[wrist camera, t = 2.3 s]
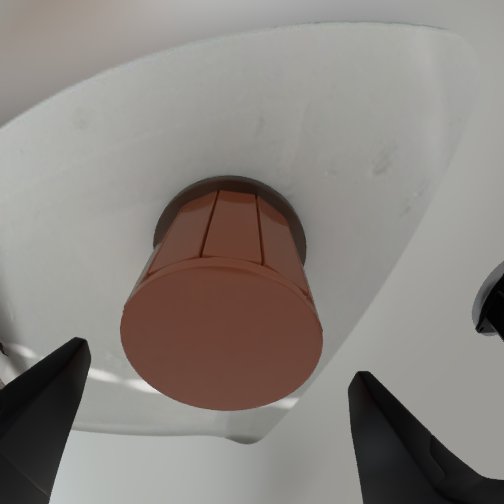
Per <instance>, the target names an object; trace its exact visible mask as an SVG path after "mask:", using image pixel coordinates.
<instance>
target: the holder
mask: <svg viewBox="0 0 504 504" xmlns="http://www.w3.org/2000/svg"><path fill="white" fill-rule="evenodd" d="M220 190H224V191H231V192H239V193H246V194H253V195H255V196H256V197H257V196H259V197H260V198H262V199H263V200H264V201H266V202H267V203H268V204H269V205H271V206H272V207H273V208H275V209H276V210H277V211H278V212H280V213H281V214H282V215H284V216H285V219H287V221H288V224H289V227H290V229H291V232H292V235H293V238H294V240H295V243H296V246H297V249H298V252H299V255H300V258H301V261H302V265H303V267H304V263H305V258H306V239H305V235H304V231H303V227H302V225H301V223H300V220H299V218H298V216H297V214H296V212H295V211H294V209H293V207H292V206H291V205H290V204H289V202H288V201H287V200H286V199H285V198H284V197H283V196H282V195H281V194H279V193H278V192H277V191H275V190H274V189H273V188H271V187H270V186H268V185H266V184H264V183H262V182H259V181H256V180H253V179H251V178H246V177H241V176H217V177H212V178H207V179H204V180H201V181H198V182H196V183H194V184H192V185H190V186H188V187H187V188H185V189H184V190H183V191H181V192H180V193H179V194H178V195H177V196H176V197H175V198H173V200H172V201H171V202H170V203H169V205H168V206H167V207H166V209H165V210H164V212H163V213H162V215H161V217H160V219H159V221H158V224H157V226H156V230H155V234H154V242H153V249H155V247H156V245H157V244H158V242H159V240H160V238H161V236H162V235H163V233H164V231H165V230H166V228H167V227H168V225H169V224H170V222H171V221H172V220H173V218H174V217H175V215H176V214H177V213H178V211H179V210H180V208H181V207H182V206H184V205H185V204H186V203H187V202H190V201H192V200H194V199H197V198H199V197H202V196H204V195H207V194H209V193H212V192H214V191H218V193H219V191H220Z"/></svg>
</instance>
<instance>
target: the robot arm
mask: <svg viewBox="0 0 504 504" xmlns="http://www.w3.org/2000/svg"><path fill="white" fill-rule="evenodd" d="M475 329H476V331H477V332H478V333H497V334H498V335H499V336H500V337H501V339H502V340H503V341H504V273H503V276H502V278H501V280H500V282H499V284H498V286H497V288H496V290H495V292H494V294H493V296H492V298H491V300H490V302H489V304H488V306H487V308H486V310H485V311H484V313H483V315H482V317H481V319H480V320H479V322H478V324H477V326H476V328H475ZM90 364H91V354H90V350H89V346H88V342H87V340H86V339H83V338H79V337H75V338H73V339H71V340H70V341H68V342H67V343H65V344H64V345H62V346H61V347H60V348H58V349H57V350H55V351H54V352H52V353H51V354H49V355H48V356H47V357H45V358H44V359H42V360H41V361H39V362H38V363H37V364H35V365H34V366H32V367H31V368H30V369H28V370H27V371H25V372H24V373H22V374H21V375H20V376H18V377H17V378H15V379H14V380H13V381H11V382H10V383H8V384H7V385H6V386H4V387H3V389H0V504H49V500H50V496H51V492H52V488H53V485H54V481H55V477H56V474H57V470H58V467H59V464H60V461H61V457H62V454H63V451H64V448H65V444H66V442H67V438H68V436H69V432H70V430H71V427H72V424H73V421H74V418H75V415H76V413H77V410H78V407H79V404H80V401H81V398H82V394H83V390H84V386H85V382H86V379H87V375H88V371H89V367H90ZM348 399H349V411H350V424H351V433H352V438H353V444H354V449H355V455H356V461H357V467H358V473H359V478H360V485H361V491H362V498H363V504H504V480H497V479H490V478H486V477H483V476H481V475H479V474H478V473H477V472H475V471H474V470H473V469H471V468H470V467H469V466H468V465H466V464H465V463H464V462H462V461H461V460H460V459H459V458H458V457H456V456H455V455H454V454H453V453H452V452H451V451H449V450H448V449H447V448H446V447H445V446H444V445H443V444H442V443H441V442H440V441H439V440H438V439H437V438H436V437H435V436H433V435H432V434H431V433H430V431H428V429H427V428H425V427H424V426H423V425H422V424H421V423H420V422H419V421H418V420H417V419H416V418H415V417H414V416H413V415H412V414H411V413H410V412H409V411H408V410H407V409H406V408H405V407H404V406H403V405H402V404H401V403H400V402H399V401H398V400H397V399H396V398H395V397H394V396H393V395H392V394H391V393H390V392H389V391H388V390H387V389H386V388H385V387H384V386H383V385H382V384H381V383H380V382H379V381H378V380H377V379H376V378H375V377H374V376H373V375H372V374H371V373H370V372H368V371H358V372H357V373H356V374H355V376H354V378H353V380H352V382H351V383H350V385H349V388H348Z"/></svg>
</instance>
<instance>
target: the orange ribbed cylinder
mask: <svg viewBox="0 0 504 504" xmlns="http://www.w3.org/2000/svg"><path fill="white" fill-rule="evenodd" d="M322 332H323V330H322V326H321V323H320V320H319V316H318V313H317V310H316V306H315V303H314V300H313V297H312V293H311V290H310V287H309V284H308V280H307V277H306V274H305V271H304V268H303V265H302V261H301V258H300V255H299V252H298V249H297V246H296V243H295V240H294V238H293V235H292V232H291V229H290V227H289V224H288V221H287V219H285V216H284V215H282V214H281V213H280V212H278V211H277V210H276V209H275V208H273V207H272V206H271V205H269V204H268V203H267V202H266V201H264V200H263V199H262V198H260V197H259V196H257V197H256V196H255V195H253V194H246V193H239V192H231V191H224V190H220V191H219V193H218V191H214V192H212V193H209V194H207V195H204V196H202V197H199V198H197V199H194V200H192V201H190V202H187V203H186V204H185V205H184V206H182V207H181V208H180V210H179V211H178V213H177V214H176V215H175V217H174V218H173V220H172V221H171V222H170V224H169V225H168V227H167V228H166V230H165V231H164V233H163V235H162V236H161V238H160V240H159V242H158V244H157V245H156V247H155V249H154V251H153V252H152V254H151V256H150V258H149V260H148V262H147V263H146V265H145V267H144V269H143V271H142V273H141V275H140V276H139V278H138V280H137V282H136V284H135V286H134V288H133V290H132V292H131V294H130V296H129V297H128V299H127V301H126V303H125V305H124V310H123V315H122V319H121V326H120V335H121V342H122V346H123V350H124V352H125V354H126V357H127V359H128V360H129V362H130V364H131V366H132V367H133V368H134V369H135V371H136V372H137V373H138V374H139V375H140V376H141V377H142V378H143V379H144V380H145V381H146V382H147V383H148V384H149V385H151V386H152V387H153V388H155V389H156V390H158V391H159V392H161V393H162V394H164V395H166V396H168V397H170V398H172V399H174V400H177V401H179V402H181V403H184V404H187V405H191V406H195V407H199V408H204V409H210V410H221V411H235V410H246V409H251V408H257V407H260V406H264V405H267V404H270V403H273V402H275V401H278V400H280V399H282V398H284V397H286V396H287V395H289V394H291V393H292V392H294V391H295V390H296V389H298V388H299V387H300V386H301V385H302V384H303V383H304V382H305V381H306V380H307V379H308V378H309V377H310V375H311V374H312V373H313V371H314V370H315V368H316V366H317V364H318V362H319V359H320V356H321V353H322V346H323V336H322Z"/></svg>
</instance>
